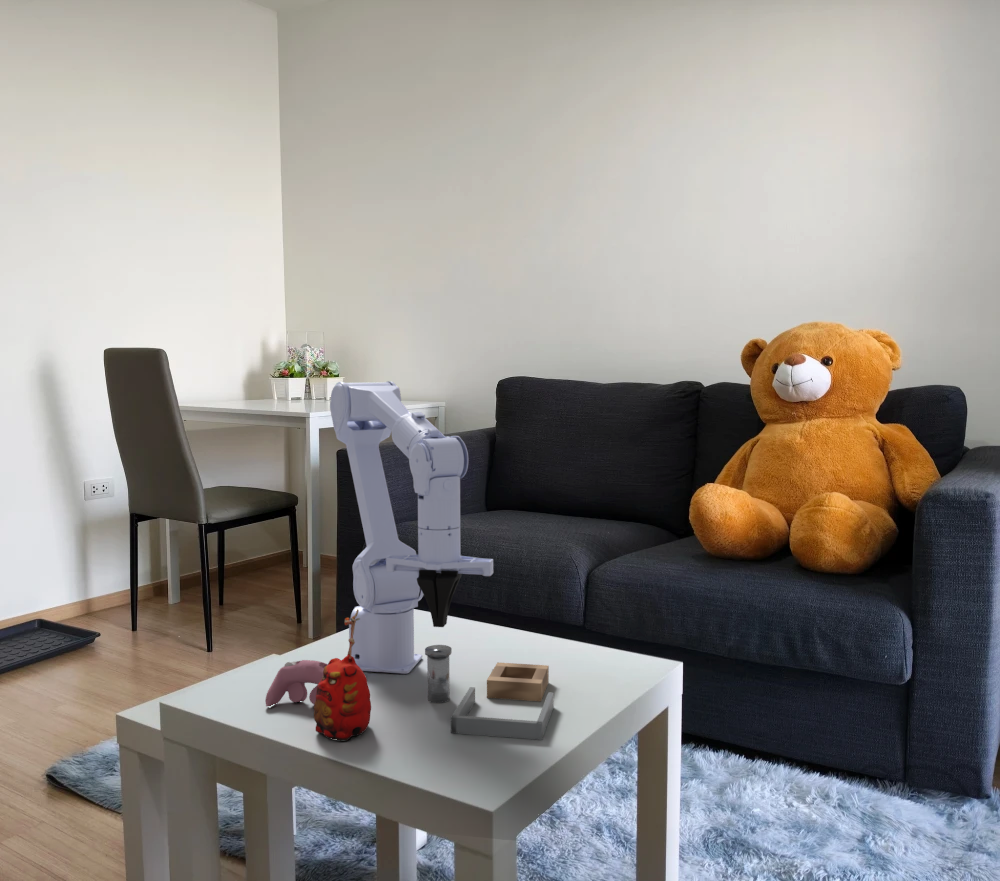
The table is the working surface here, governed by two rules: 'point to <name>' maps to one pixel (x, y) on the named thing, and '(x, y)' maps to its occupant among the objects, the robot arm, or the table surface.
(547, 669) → the wooden square frame
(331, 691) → the red clay folk toy
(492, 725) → the grey u-shaped bracket
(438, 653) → the silver cylindrical piece
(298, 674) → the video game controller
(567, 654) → the table surface
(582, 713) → the table surface
